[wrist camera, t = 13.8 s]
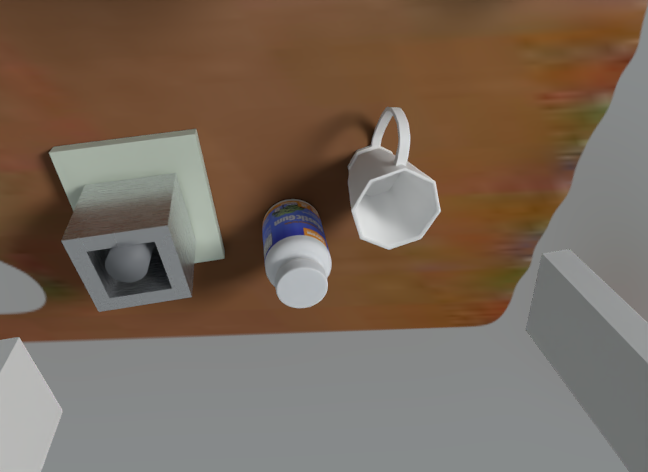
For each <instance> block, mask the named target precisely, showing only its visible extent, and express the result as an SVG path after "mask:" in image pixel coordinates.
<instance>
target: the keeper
mask: <svg viewBox="0 0 648 472" xmlns="http://www.w3.org/2000/svg"><path fill="white" fill-rule="evenodd" d="M49 154H50V157H51V159H52V162H53V164H54V166H55V169H56V171H57V173H58V176H59V178H60V181H61V183H62V185H63V188H64V190H65V192H66V195H67V197H68V200H69V202H70V204H71V207H72V209H73V211H74V209H75V207H76V205H77V202H78V200H79V198H80V195H81V193H82V191H83V188H84V186H85V185H89V184H96V183H104V182H111V181H118V180H126V179H133V178H141V177H148V176H155V175H163V174H170V173H176V175H177V178H178V182H179V185H180V189H181V192H182V195H183V199H184V202H185V205H186V209H187V212H188V215H189V219H190V222H191V225H192V229H193V232H194V235H195V239H196V249H195V262H194V263H199V262H206V261H213V260H219V259H224V258H225V250H224V246H223V242H222V237H221V233H220V229H219V225H218V220H217V216H216V212H215V207H214V203H213V199H212V194H211V190H210V186H209V181H208V177H207V173H206V169H205V164H204V160H203V156H202V151H201V147H200V143H199V138H198V134H197V130H196V129H191V130H183V131H175V132H167V133H159V134H151V135H143V136H135V137H127V138H119V139H112V140H104V141H96V142H88V143H80V144H72V145H64V146H56V147H53V148H52V150H51V151H50V152H49ZM154 244H155V242H149V243H142V244H135V245H128V246H122V247H115V248H111V249H110V251H109V254H108V256H107V259H106V261H105V268H106V270H107V272H108V274H109V275H110V276H111V277H113V278H114V279H116V280H118V281H121V282H136V281H138V280H140V279H142V278H143V277H144V276H145V275H146V273H147V271H148V267H149V263H150V259H151V255H152V251H153V248H154Z"/></svg>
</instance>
